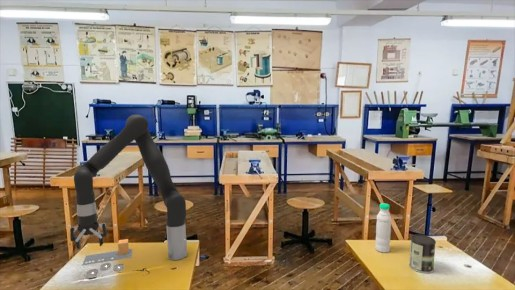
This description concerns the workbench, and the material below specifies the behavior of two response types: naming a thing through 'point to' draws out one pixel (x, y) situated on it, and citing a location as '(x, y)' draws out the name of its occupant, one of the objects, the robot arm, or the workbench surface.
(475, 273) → the workbench surface
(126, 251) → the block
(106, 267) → the steel cylinder
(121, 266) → the steel cylinder
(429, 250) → the coffee can
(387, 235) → the water bottle
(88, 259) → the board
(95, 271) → the steel cylinder
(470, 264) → the workbench surface
